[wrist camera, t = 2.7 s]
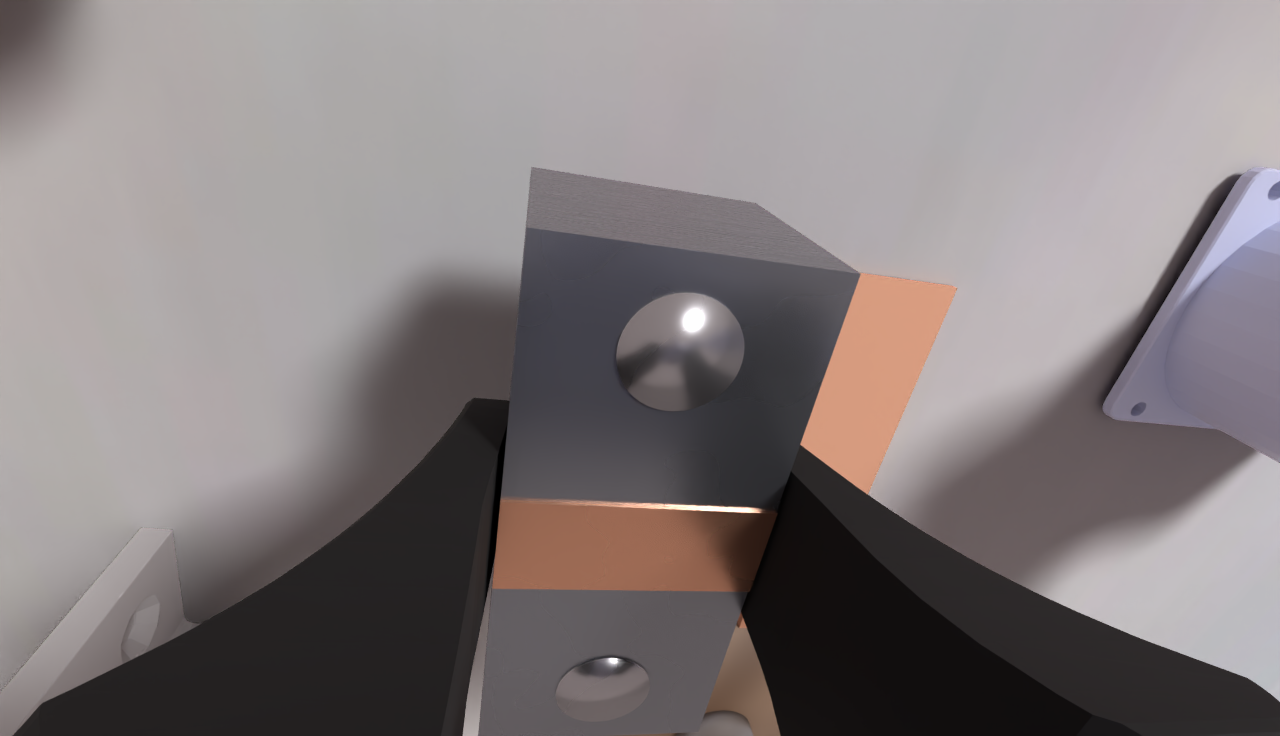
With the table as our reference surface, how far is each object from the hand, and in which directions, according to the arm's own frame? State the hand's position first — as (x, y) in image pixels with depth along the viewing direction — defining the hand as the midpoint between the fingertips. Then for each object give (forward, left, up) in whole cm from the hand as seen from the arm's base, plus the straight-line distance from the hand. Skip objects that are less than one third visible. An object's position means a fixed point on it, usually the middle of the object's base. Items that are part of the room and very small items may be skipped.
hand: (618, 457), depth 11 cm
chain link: (0, 0, -2) cm, 2 cm away
